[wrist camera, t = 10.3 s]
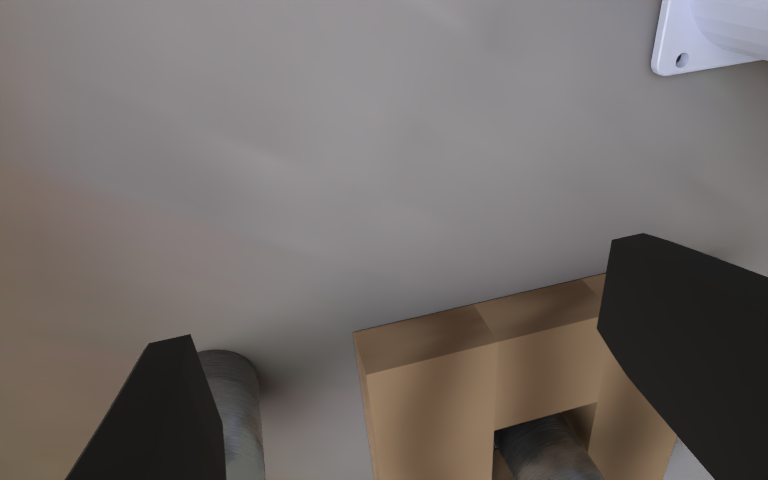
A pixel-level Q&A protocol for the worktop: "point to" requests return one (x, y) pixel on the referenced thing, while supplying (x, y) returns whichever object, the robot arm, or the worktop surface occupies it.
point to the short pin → (237, 411)
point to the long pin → (545, 451)
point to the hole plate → (503, 388)
